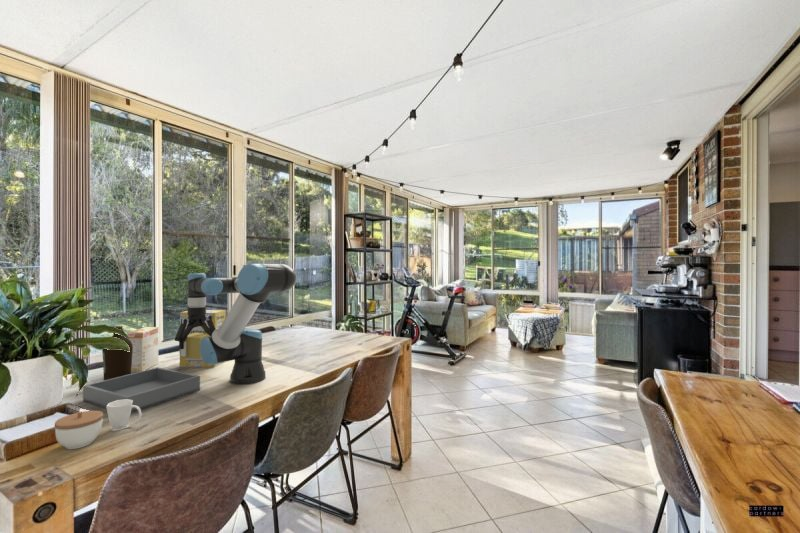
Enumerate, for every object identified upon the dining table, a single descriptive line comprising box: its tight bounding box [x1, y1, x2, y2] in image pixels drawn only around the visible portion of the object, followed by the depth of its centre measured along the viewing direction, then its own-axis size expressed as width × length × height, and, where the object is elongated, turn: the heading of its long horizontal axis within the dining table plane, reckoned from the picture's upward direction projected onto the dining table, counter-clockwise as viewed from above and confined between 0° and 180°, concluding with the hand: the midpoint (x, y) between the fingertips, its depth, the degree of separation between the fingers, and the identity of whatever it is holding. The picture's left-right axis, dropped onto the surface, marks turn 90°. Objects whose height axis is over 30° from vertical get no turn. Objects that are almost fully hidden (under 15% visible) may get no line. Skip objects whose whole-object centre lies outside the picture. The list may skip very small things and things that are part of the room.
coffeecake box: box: [127, 326, 159, 373], centre depth 184 cm, size 15×7×20 cm, turn 6°
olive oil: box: [101, 325, 133, 381], centre depth 160 cm, size 11×11×25 cm
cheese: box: [178, 333, 210, 359], centre depth 168 cm, size 10×11×10 cm
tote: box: [82, 366, 201, 414], centre depth 146 cm, size 28×28×6 cm
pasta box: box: [179, 309, 227, 368], centre depth 192 cm, size 18×10×28 cm, turn 89°
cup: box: [106, 399, 143, 432], centre depth 118 cm, size 7×10×8 cm
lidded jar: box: [54, 410, 104, 450], centre depth 107 cm, size 11×11×9 cm
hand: (196, 353), depth 168 cm, fingers closed on cheese, 12 cm apart
